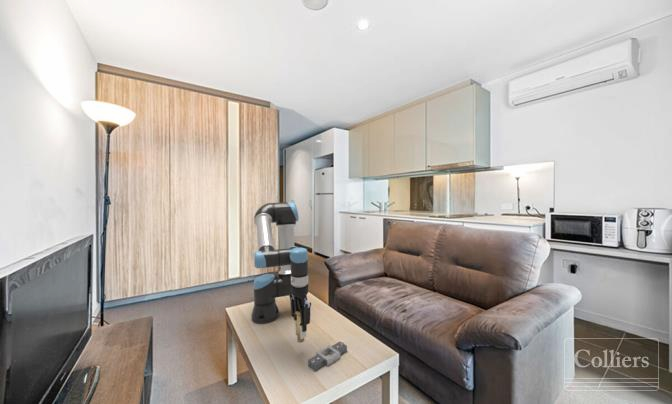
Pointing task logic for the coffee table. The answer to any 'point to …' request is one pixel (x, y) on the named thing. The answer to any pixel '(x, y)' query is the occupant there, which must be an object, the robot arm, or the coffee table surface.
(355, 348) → the coffee table surface
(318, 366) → the chain joint
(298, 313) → the pin
